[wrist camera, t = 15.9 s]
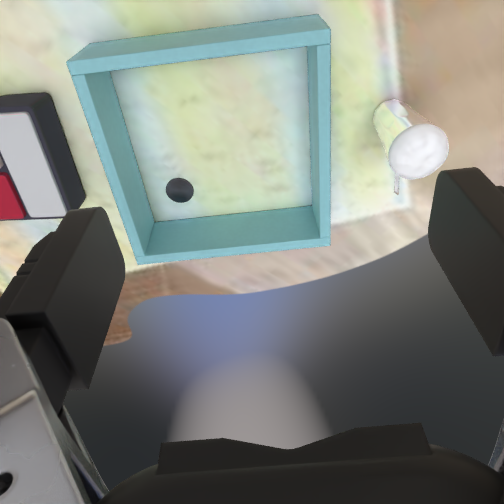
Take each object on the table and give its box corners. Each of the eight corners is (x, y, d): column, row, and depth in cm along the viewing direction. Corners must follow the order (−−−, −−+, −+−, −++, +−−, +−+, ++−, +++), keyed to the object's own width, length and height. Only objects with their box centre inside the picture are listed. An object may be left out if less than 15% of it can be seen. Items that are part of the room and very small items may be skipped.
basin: (89, 43, 35) (65, 61, 31) (318, 13, 34) (330, 28, 30) (148, 230, 47) (137, 265, 42) (321, 212, 46) (330, 245, 41)
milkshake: (349, 128, 40) (375, 178, 32) (391, 80, 38) (431, 122, 30) (382, 154, 42) (415, 207, 34) (425, 110, 39) (471, 157, 31)
